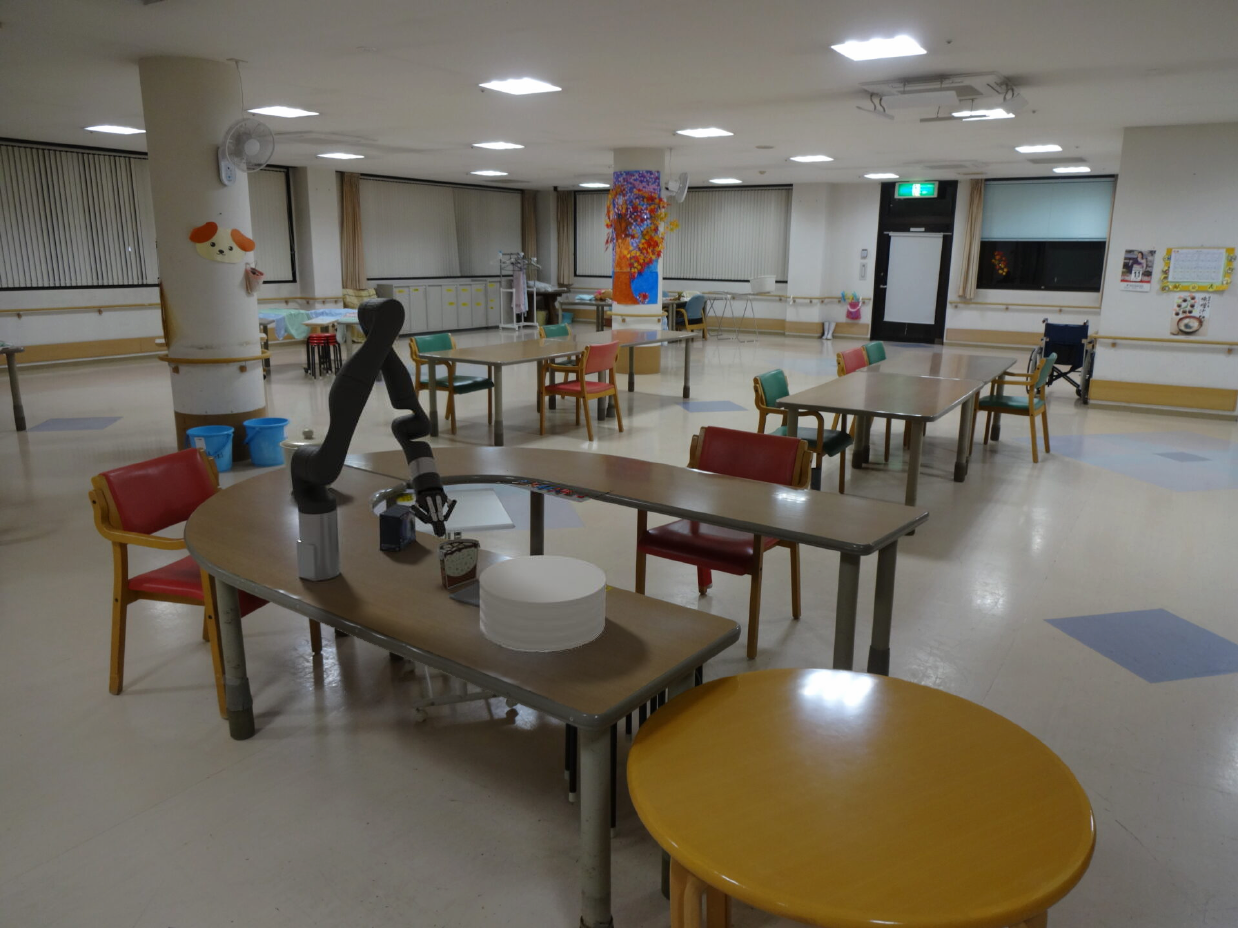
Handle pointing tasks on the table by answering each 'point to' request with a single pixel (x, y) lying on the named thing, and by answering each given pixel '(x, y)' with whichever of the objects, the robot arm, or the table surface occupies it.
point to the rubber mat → (469, 595)
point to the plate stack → (542, 602)
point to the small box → (396, 528)
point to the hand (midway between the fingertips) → (441, 535)
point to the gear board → (551, 491)
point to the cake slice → (458, 561)
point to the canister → (295, 442)
